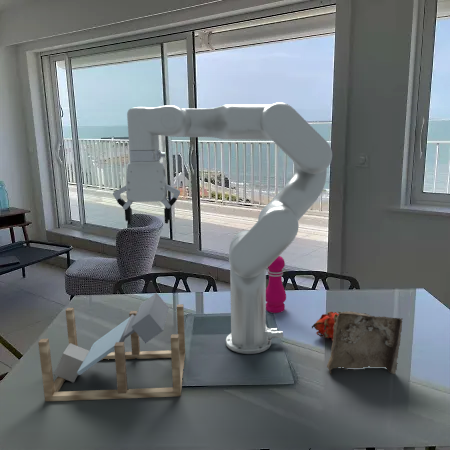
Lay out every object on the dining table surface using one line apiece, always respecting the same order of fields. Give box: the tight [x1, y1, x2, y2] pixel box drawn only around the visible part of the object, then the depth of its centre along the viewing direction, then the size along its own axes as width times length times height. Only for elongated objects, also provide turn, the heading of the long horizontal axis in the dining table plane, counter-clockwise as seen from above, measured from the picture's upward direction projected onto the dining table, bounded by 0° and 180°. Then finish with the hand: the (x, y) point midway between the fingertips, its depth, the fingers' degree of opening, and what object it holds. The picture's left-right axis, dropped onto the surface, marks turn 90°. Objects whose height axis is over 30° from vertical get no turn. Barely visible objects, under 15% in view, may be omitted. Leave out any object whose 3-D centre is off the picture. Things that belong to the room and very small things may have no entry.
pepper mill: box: [266, 255, 287, 314], centre depth 136 cm, size 7×7×20 cm
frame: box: [38, 303, 186, 402], centre depth 99 cm, size 30×19×14 cm, turn 92°
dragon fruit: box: [311, 311, 342, 343], centre depth 117 cm, size 8×8×12 cm
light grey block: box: [53, 343, 90, 383], centre depth 100 cm, size 5×5×6 cm
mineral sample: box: [326, 310, 404, 375], centre depth 99 cm, size 17×4×15 cm, turn 88°
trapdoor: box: [77, 292, 170, 376], centre depth 99 cm, size 21×15×5 cm
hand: (148, 223), depth 110 cm, fingers open, 9 cm apart
